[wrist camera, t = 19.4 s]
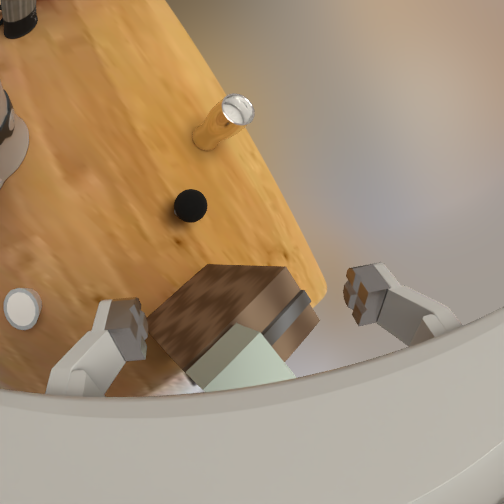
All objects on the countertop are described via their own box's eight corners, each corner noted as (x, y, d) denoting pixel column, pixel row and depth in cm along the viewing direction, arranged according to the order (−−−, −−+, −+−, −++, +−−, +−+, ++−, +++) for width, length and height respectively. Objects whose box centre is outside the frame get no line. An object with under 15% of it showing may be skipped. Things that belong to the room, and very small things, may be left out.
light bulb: (190, 229, 58) (209, 223, 50) (162, 223, 55) (177, 216, 47) (194, 200, 59) (214, 190, 51) (167, 194, 56) (183, 182, 48)
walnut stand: (173, 358, 56) (236, 419, 33) (140, 323, 53) (184, 371, 30) (234, 300, 63) (323, 321, 40) (207, 264, 60) (289, 266, 37)
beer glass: (222, 152, 62) (258, 127, 50) (192, 153, 59) (224, 126, 46) (217, 123, 62) (251, 93, 49) (188, 124, 58) (217, 91, 45)
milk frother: (37, 32, 38) (37, -11, 25) (-21, 55, 30) (-32, 16, 17) (38, -1, 35) (41, -40, 23) (-15, 19, 28) (-21, -18, 15)
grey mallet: (143, 502, 25) (154, 527, 21) (80, 465, 22) (84, 492, 18) (279, 375, 36) (305, 387, 32) (236, 323, 33) (260, 332, 28)
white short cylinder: (7, 295, 39) (-4, 300, 33) (33, 277, 42) (26, 280, 36) (24, 328, 40) (16, 337, 34) (51, 311, 44) (46, 318, 38)
